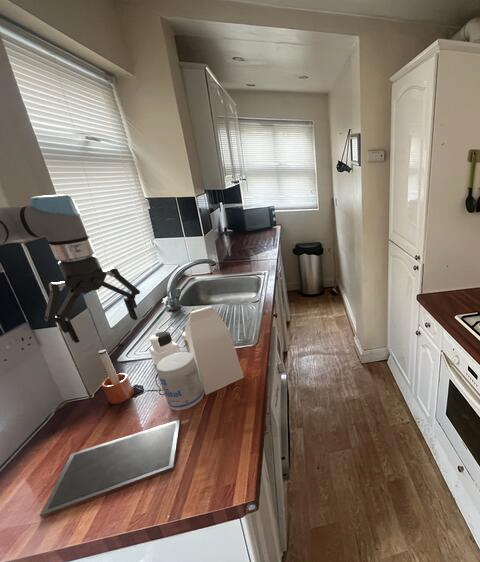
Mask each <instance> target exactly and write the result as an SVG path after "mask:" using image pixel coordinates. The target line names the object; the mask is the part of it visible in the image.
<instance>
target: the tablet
mask: <svg viewBox="0 0 480 562" xmlns="http://www.w3.org/2000/svg"><path fill="white" fill-rule="evenodd" d="M181 426H182V420H181V419H176V420H173V421H171V422H167V423H164V424H161V425H157V426H155V427H151V428H147V429H145V430H142V431H139V432H135V433H132V434H130V435H126V436H123V437H119V438H117V439H113V440H110V441H107V442H104V443H101V444H96V445H93V446H91V447H87V448H84V449H82V450H77V451H75V452H72V453H71V454H70V455H69V457H68V458H67V461H66V462H65V464H64V467H63V469H62V470H61V473H60V475H59V477H58V478H57V481H56V483H55V484H54V487H53V489H52V491H51V493H50V494H49V496H48V499H47V500H46V502H45V505H44V506H43V508H42V510H41V512H40V514H39V517H40V518H41V520H42V519H45V518H49V517H51V516H53V515H56V514H59V513H63V512H65V511H67V510H70V509H72V508H76V507H78V506H80V505H83V504H86V503H89V502H91V501H94V500H97V499H99V498H103V497H105V496H108V495H111V494H113V493H116V492H119V491H122V490H125V489H128V488H129V487H133V486H135V485H138V484H140V483H144V482H146V481H149V480H151V479H153V478H157V477H160V476H162V475H164V474H168V473H170V472H172V471H175V469H176V462H177V455H178V447H179V441H180V435H181V428H182V427H181Z"/></svg>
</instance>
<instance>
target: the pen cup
mask: <svg viewBox="0 0 480 562" xmlns="http://www.w3.org/2000/svg"><path fill="white" fill-rule="evenodd" d="M116 374H117V376H118V378H119V381H120V382H119V383H116V384H114V385H113V384H112V382H111V380H110V378H109V376H107V378H105V379H104V380H103V381H102V382H101V386H102V389H103V390H104V393H105V395H106V397H107V399H108V402H109V403H110V404H120V403H123V402H125V401H128V400H129V399H130V398H132V397H133V395H134V394H135V390H134V388H133V385H132V382H131V380H130V378H129V376H128V374H127V373H125V372H120V373H116Z"/></svg>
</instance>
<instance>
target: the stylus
mask: <svg viewBox="0 0 480 562" xmlns="http://www.w3.org/2000/svg"><path fill="white" fill-rule="evenodd" d="M97 353H98V356H99V357H100V360H101V362H102V364H103V367H104V369H105V371H106V373H107V375H108V376H107V377H109V378H110V380H111V382H112V384H113V385H114V384H116V383H119V382H120V381H119V378H118V376H117V374H118V373H117V372H116V369H115V368H114V365H113V362H112V360H111V358H110V355H109V354H108V351H107V349H100V350H99V351H98V352H97Z"/></svg>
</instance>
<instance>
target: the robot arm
mask: <svg viewBox="0 0 480 562" xmlns="http://www.w3.org/2000/svg"><path fill="white" fill-rule="evenodd" d="M29 203H30V204H28V205H23V206H6V207H5V206H4V207H3V206H2V207H0V247H1V246H4V245H6V244H9V243H11V242H14V241H19V240H28V239H40V238H45V239H46V240H47V243H48V245H49V247H50V250H51V251H52V254H53V256H54V259H55V260H57V261H58V262H57V265H58V267H59V269H60V272H61V274H62V276H63V281H58V282H54V281H51V282H49V283H48V289H49V295H48V300H47V304H46V309H45V314H44V318H43V319H44V321H45V322H47V323H48V324H53V323H57V325H58V327H59V328H60V331H61V332H63V333H64V334H67V333H68V335H69V336H70V338H71V341H73V343H75V344H78V343H80V342H81V341H80V340H79V336H78V335H77V333H76V331H75V328H74V325H73V324H72V322H71V320H70V319H69V318H67V317H68V315H69V313H70V312H71V310H72V308H73V307H74V306H75V303H76V301H77V299H78V298H79V297H80V296H81V294H89V293H90V292H93V291H98V290H100V289H101V288H102V287H104V288H106V289H108V290H110V291H113V292H114V293H117V294H119V295H122V296H124V297H125V298H123V302H124V304H125V307H126V309H127V312H128V315H129V318H130V319H131V320H133V321H138V320H139V319H138V315H137V313H136V310H135V309H136V308H137V307H138V305H137V302H136V296H137V295H140V294H141V290H139V289H138V288H137V287H136V286H134V285H133V284H132V283H131V282H130V281H129V280H127V279H126V278H125V277H124V276H123V275H122V274H121V273H120V271H119V270H118V268H116V267H113V266H110V267H109V268H107V269H105V270H103V269H102V266H101V263H100V260H99V259H98V258H99V257H98V256H97V255H95V253H96V251H95V248H94V246H93V244H92V241H91V238H90V236H89V234H88V230H87V228H86V225H85V223H84V220H83V218H82V214H81V211H80V210H79V208H78V205H77V204H76V201H75V200H74V198H73V197H72V196H70V195H68V194H49V195H38V196H32V197H30V198H29ZM107 276H109V277H112V278H113V279H115V280H116V281H118V282H119V283H120V284H121V285H122V286H124V287H125V288H126V289H128V290H129V292H128V291H126V290H123V289H122V288H119V287H117V286H115V285H112V284H110V283H108V282H106V281H105V280H106V277H107ZM64 287H68V288H69V291H68V292H67V296H66V297H65V299H64V301H63V303H62V305H61V306H60V308H59V310H58V306H59V301H60V298H61V292H62V291H63V290H64ZM57 310H58V312H57Z"/></svg>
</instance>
